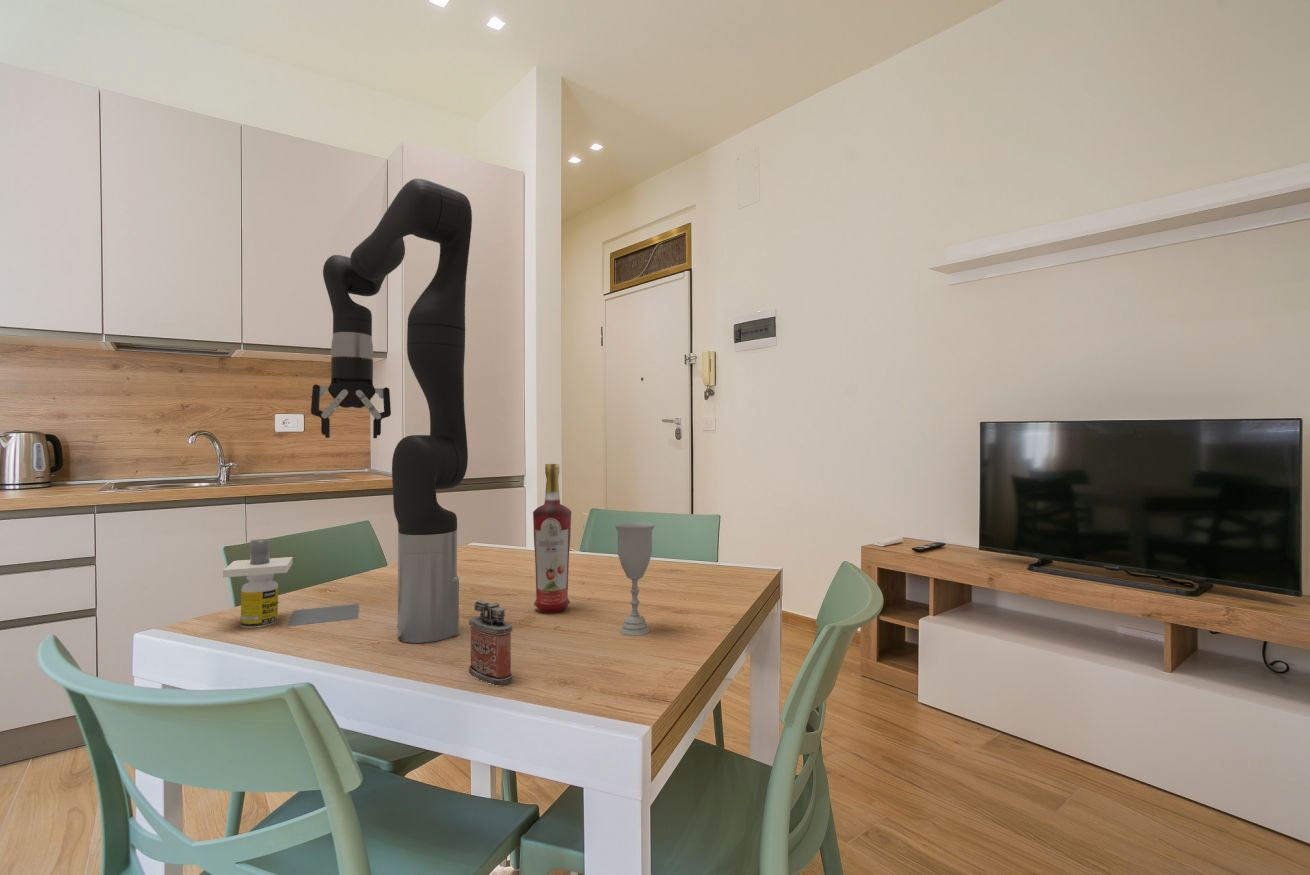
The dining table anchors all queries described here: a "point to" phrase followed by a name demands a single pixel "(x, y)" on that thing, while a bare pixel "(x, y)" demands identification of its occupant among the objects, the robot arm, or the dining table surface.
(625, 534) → the chalice
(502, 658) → the lighter
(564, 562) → the liquor
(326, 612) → the mat
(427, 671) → the dining table surface
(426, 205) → the robot arm
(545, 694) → the dining table surface
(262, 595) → the supplement bottle
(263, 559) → the lid
